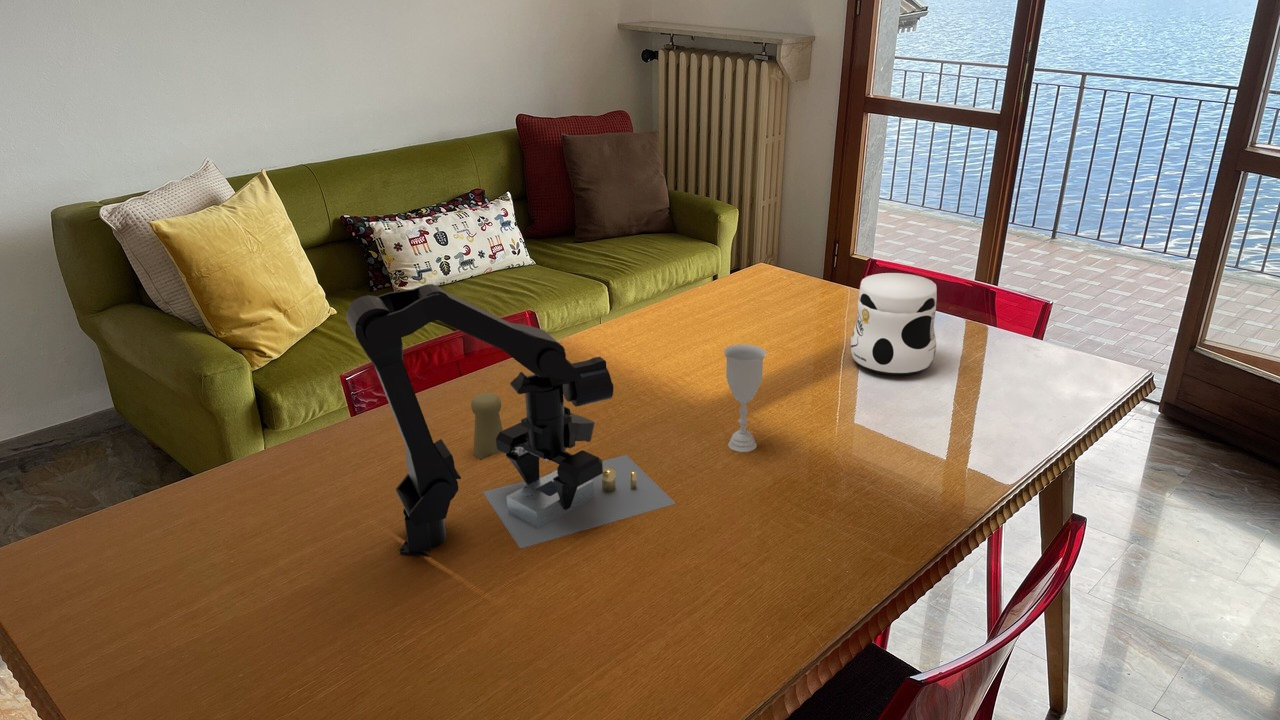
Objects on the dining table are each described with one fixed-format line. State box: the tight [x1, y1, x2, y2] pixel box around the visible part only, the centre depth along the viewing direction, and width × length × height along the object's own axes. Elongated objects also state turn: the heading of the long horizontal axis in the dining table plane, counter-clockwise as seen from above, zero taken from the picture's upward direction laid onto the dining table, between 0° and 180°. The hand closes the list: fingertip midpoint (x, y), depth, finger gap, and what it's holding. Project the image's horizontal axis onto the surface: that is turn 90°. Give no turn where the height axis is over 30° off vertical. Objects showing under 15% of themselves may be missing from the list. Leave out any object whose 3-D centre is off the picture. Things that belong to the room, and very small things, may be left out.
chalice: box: [723, 344, 767, 453], centre depth 164 cm, size 7×7×18 cm
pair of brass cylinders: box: [602, 467, 637, 493], centre depth 152 cm, size 6×2×4 cm, turn 92°
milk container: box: [850, 272, 938, 376], centre depth 195 cm, size 17×17×18 cm
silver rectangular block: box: [507, 469, 594, 529], centre depth 148 cm, size 12×7×3 cm, turn 137°
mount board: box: [482, 454, 677, 550], centre depth 151 cm, size 26×18×1 cm
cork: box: [470, 392, 504, 460], centre depth 165 cm, size 6×6×11 cm
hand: (551, 500), depth 149 cm, fingers closed on silver rectangular block, 7 cm apart
